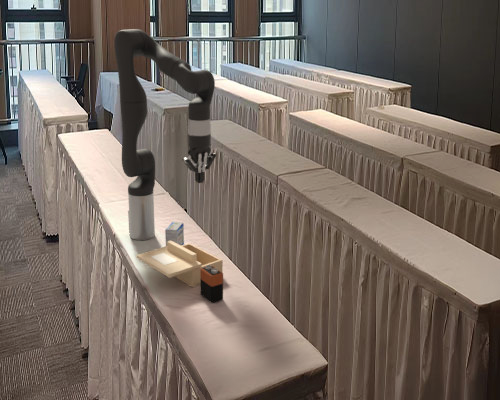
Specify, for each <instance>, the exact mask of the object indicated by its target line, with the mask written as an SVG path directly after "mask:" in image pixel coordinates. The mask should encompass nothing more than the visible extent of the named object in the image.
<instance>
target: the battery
mask: <svg viewBox="0 0 500 400" xmlns="http://www.w3.org/2000/svg"><path fill="white" fill-rule="evenodd" d="M200 272H201V285H200V295H201V296H202V298H204V299H206V300H207V301H208V302H210V303H211V304H212V303H216V302H217V303H218V302H220V301H222V300H224V273H223V271H222V272H221V271H219V270H218V269H216V268H215V267H213V266H211V265H207V266H206V267H204V268H201V270H200Z"/></svg>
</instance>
